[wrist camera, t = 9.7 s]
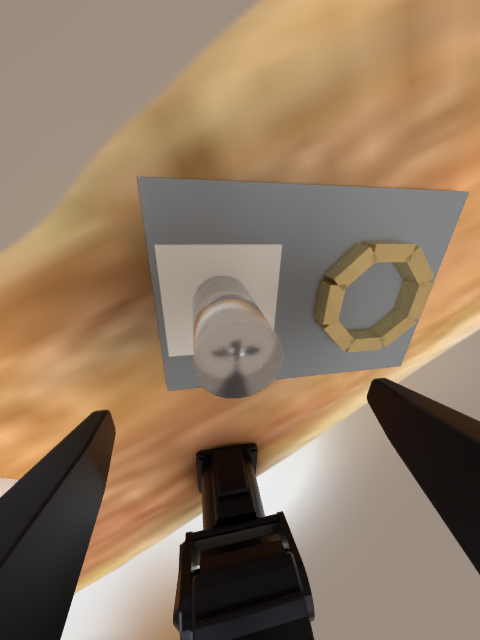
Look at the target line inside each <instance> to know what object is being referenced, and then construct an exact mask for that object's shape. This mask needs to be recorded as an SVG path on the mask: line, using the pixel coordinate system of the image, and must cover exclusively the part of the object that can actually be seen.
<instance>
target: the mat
mask: <svg viewBox="0 0 480 640" xmlns="http://www.w3.org/2000/svg"><path fill="white" fill-rule="evenodd" d="M154 246H155V253H156V261H157V269H158V276H159V284H160V292H161V300H162V307H163V315H164V323H165V330H166V338H167V346H168V354H169V357H172V356H184V355H193V298H194V294H195V292H196V290H197V289H198V287H199V286H200V285H201V284H202V283H203V282H205V281H206V280H208V279H210V278H212V277H216V276H229V277H233V278H235V279H237V280H238V281H240V282H241V283H242V284H243V285H244V286H245V287H246V289H247V290H248V292H249V293H250V295H251V296H252V298H253V300H254V301H255V303H256V304H257V306H258V307H259V309H260V310H261V312H262V313H263V315H264V316H265V318H266V319H267V321H268V322H269V324H270V325H271V327H272V328H273V330H274V324H275V313H276V303H277V293H278V283H279V272H280V262H281V252H282V244H155V245H154Z"/></svg>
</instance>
